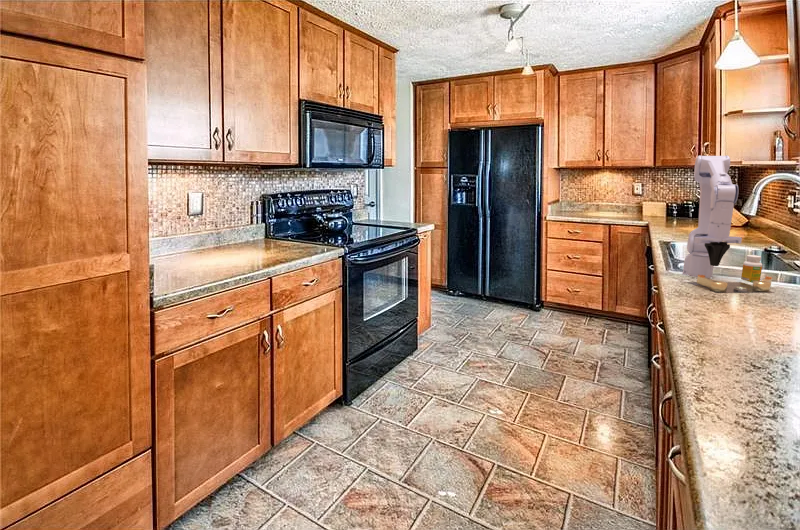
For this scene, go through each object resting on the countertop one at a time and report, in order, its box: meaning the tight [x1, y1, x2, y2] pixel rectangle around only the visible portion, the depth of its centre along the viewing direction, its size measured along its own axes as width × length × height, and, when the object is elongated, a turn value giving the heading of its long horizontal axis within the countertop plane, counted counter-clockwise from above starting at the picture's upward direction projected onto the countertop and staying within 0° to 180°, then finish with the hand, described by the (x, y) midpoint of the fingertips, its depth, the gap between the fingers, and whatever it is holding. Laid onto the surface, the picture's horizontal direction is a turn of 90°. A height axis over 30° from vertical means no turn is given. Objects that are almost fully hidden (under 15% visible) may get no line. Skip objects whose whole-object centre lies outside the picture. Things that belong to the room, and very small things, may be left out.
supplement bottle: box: [740, 254, 763, 284], centre depth 166 cm, size 5×5×10 cm
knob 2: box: [752, 276, 773, 292], centre depth 153 cm, size 11×4×3 cm, turn 131°
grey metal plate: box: [687, 281, 775, 294], centre depth 155 cm, size 14×19×3 cm
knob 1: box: [696, 275, 728, 292], centre depth 153 cm, size 11×4×3 cm, turn 3°
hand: (714, 265), depth 154 cm, fingers closed
